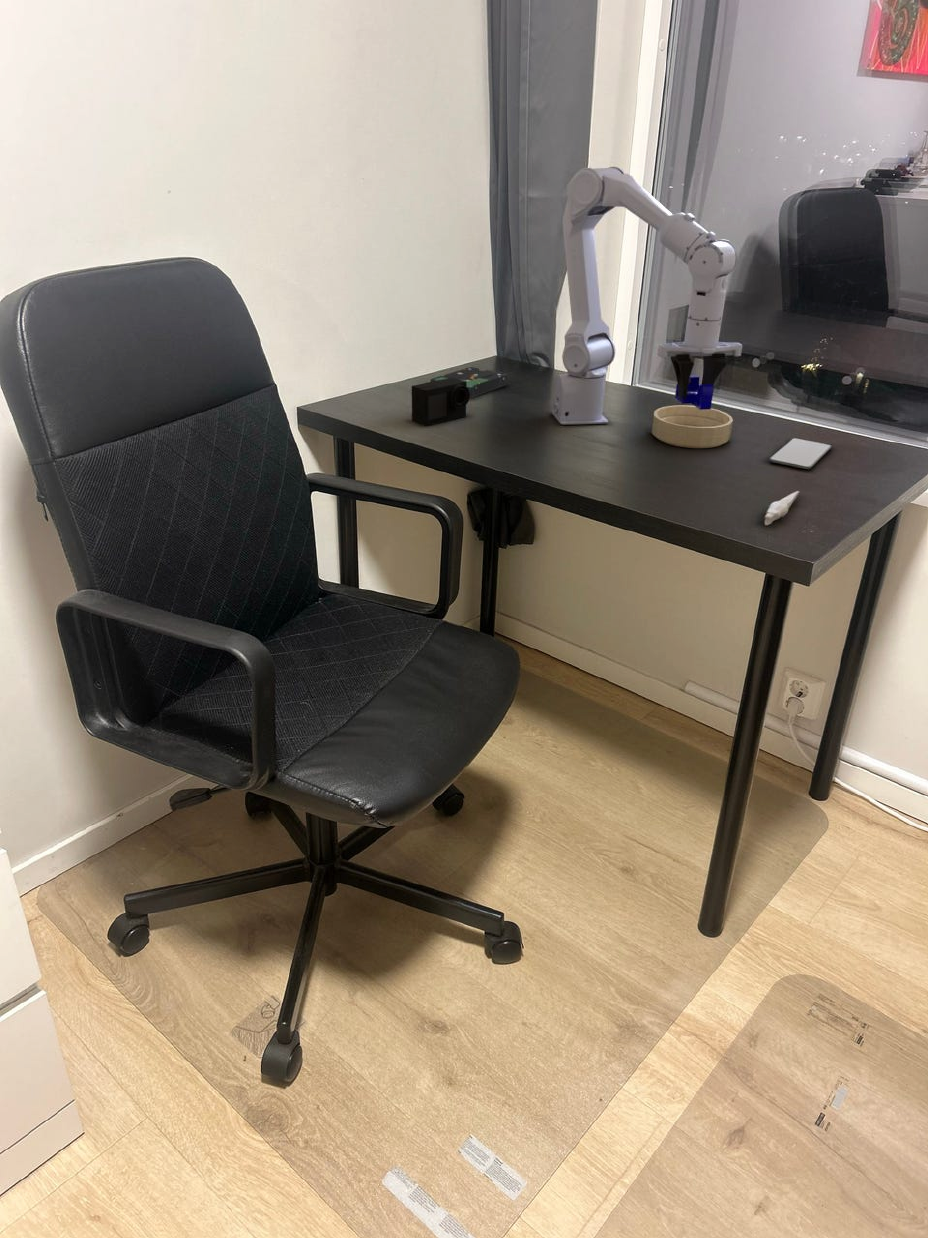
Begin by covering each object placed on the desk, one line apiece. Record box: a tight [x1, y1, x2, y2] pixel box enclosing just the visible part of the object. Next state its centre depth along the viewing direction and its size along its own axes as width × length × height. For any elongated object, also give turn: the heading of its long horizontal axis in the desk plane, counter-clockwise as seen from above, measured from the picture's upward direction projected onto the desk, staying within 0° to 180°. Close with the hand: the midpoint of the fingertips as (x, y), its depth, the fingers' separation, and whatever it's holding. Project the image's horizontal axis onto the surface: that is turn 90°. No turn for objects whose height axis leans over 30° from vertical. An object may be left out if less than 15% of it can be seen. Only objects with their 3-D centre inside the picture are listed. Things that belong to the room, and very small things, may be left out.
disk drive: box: [430, 366, 509, 399], centre depth 190 cm, size 10×3×15 cm
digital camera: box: [411, 378, 470, 427], centre depth 169 cm, size 10×5×7 cm, turn 131°
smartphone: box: [769, 437, 832, 470], centre depth 156 cm, size 7×1×15 cm
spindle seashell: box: [764, 490, 800, 526], centre depth 133 cm, size 15×3×2 cm, turn 144°
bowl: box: [651, 404, 734, 449], centre depth 163 cm, size 14×14×4 cm
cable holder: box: [674, 374, 715, 410], centre depth 156 cm, size 8×4×4 cm, turn 9°
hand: (693, 397), depth 156 cm, fingers closed on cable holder, 3 cm apart
